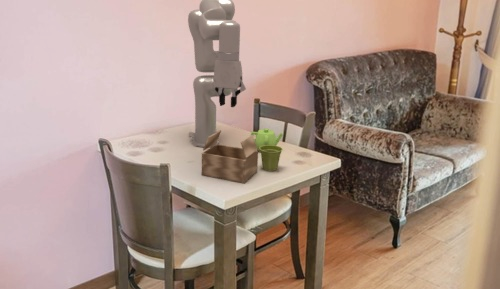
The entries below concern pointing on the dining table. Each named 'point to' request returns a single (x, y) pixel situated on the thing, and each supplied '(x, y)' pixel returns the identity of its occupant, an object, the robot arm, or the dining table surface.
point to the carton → (229, 163)
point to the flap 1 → (212, 140)
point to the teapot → (266, 138)
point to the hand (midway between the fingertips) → (227, 105)
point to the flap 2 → (249, 146)
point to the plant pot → (270, 156)
